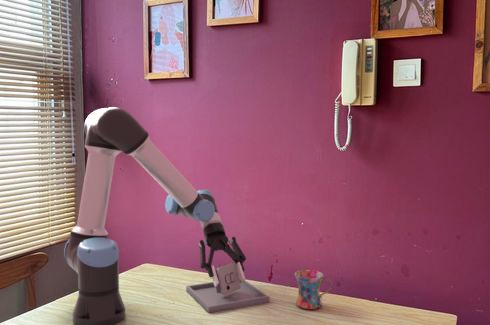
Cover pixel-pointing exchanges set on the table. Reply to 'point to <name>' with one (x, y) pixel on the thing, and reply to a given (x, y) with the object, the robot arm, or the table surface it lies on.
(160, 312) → the table surface
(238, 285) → the electrical switch
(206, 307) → the grey square tray
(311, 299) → the mug
